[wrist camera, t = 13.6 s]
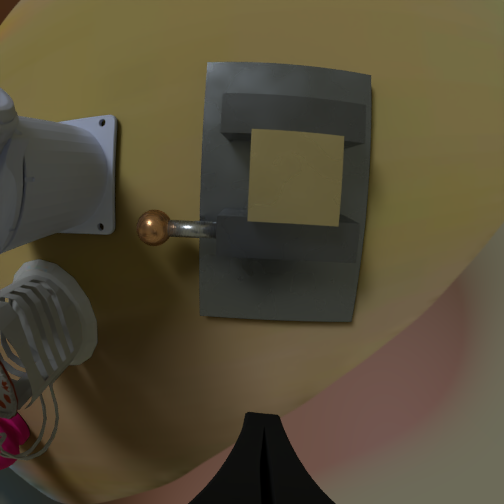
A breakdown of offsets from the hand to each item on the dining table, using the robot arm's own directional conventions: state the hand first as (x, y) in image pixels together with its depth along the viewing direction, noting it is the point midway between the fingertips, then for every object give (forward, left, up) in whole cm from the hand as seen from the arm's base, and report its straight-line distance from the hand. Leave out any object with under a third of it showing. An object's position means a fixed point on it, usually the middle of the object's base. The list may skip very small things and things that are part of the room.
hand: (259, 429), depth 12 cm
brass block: (+1, +10, -9) cm, 13 cm away
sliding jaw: (-1, +7, -9) cm, 11 cm away
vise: (+1, +9, -10) cm, 13 cm away
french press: (-17, -2, -10) cm, 20 cm away
